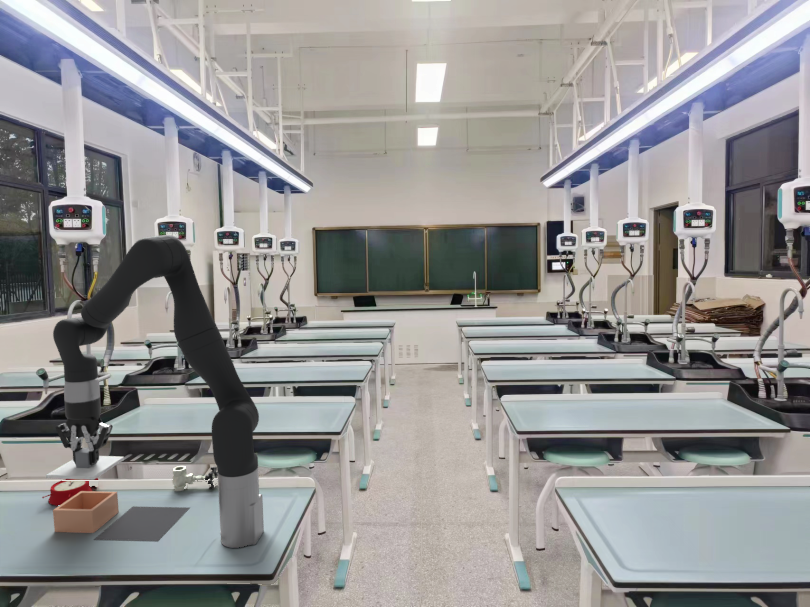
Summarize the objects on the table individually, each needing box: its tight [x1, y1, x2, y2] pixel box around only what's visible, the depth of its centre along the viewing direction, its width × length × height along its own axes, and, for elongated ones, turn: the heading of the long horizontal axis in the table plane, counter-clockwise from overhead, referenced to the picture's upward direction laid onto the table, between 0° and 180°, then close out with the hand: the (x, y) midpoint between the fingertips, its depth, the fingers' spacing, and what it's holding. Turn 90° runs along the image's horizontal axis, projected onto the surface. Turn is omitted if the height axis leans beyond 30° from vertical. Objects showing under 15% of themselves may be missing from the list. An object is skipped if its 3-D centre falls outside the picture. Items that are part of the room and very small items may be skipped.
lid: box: [45, 447, 125, 480], centre depth 129 cm, size 12×12×5 cm
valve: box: [171, 465, 218, 492], centre depth 149 cm, size 7×7×12 cm
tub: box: [52, 490, 120, 534], centre depth 131 cm, size 10×10×6 cm
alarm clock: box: [41, 477, 99, 506], centre depth 147 cm, size 10×6×15 cm
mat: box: [93, 505, 191, 542], centre depth 130 cm, size 16×16×1 cm
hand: (86, 463), depth 129 cm, fingers closed on lid, 3 cm apart
